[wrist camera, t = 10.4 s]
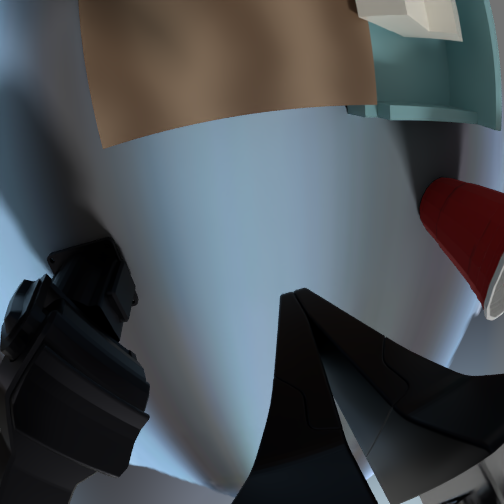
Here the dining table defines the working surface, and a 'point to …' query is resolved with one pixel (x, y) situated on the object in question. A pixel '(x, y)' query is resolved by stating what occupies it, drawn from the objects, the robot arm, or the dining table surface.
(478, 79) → the box
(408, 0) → the tile
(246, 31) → the walnut plate
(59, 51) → the dining table surface
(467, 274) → the plastic cup
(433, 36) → the tile
